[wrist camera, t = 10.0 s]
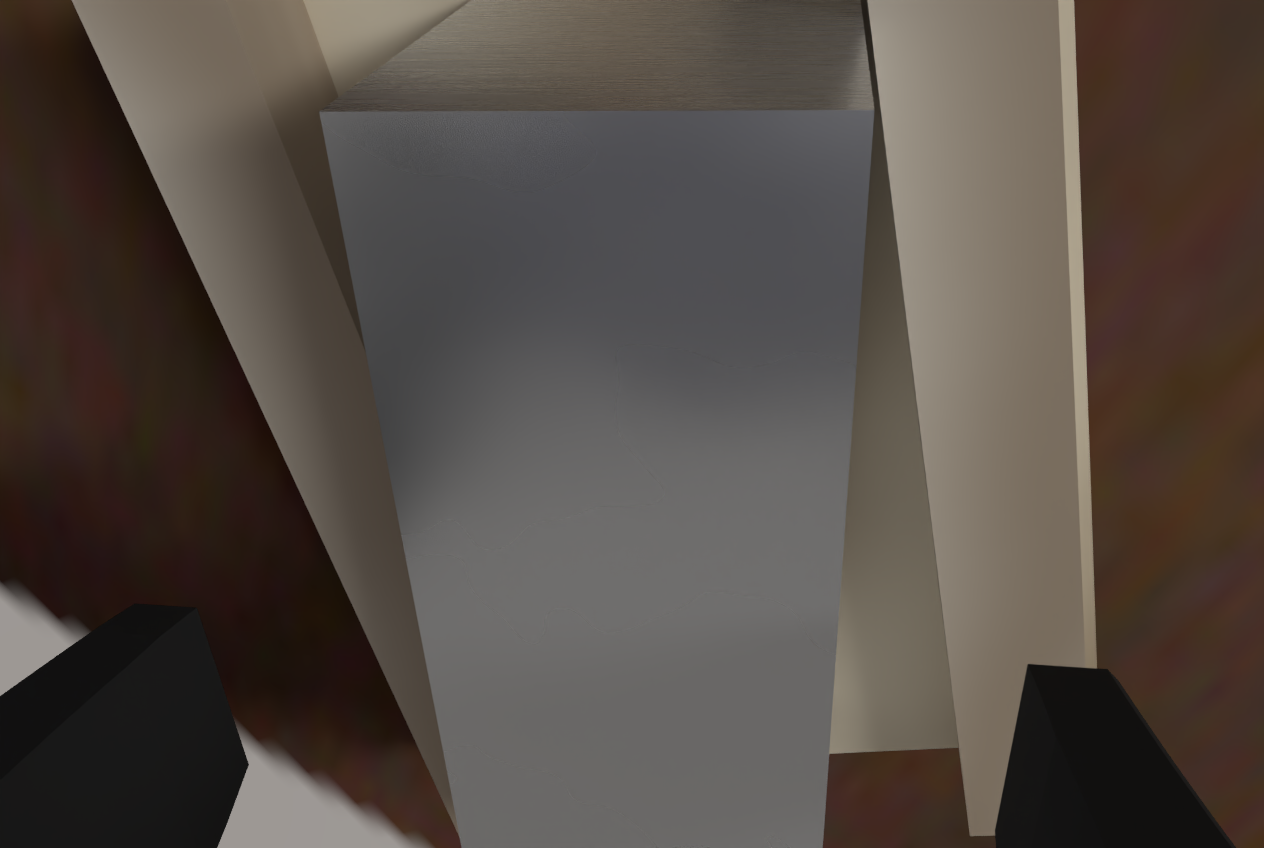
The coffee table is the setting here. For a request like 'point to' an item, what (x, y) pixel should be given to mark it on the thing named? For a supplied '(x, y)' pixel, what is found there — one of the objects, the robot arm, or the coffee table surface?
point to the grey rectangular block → (619, 400)
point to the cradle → (886, 358)
